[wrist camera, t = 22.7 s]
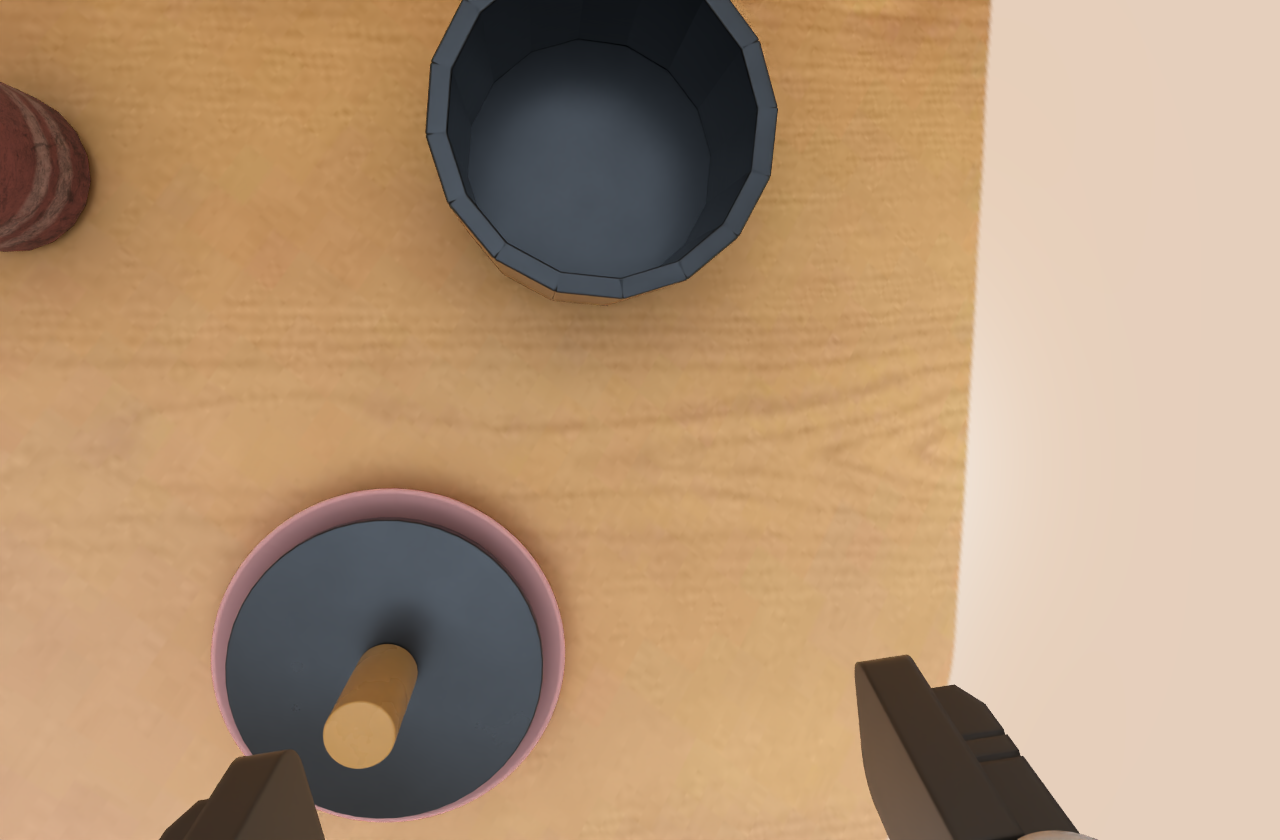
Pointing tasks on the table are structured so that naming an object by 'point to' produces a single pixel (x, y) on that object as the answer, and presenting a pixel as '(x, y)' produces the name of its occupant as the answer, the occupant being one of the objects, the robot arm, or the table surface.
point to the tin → (601, 138)
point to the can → (38, 172)
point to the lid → (386, 665)
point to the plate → (428, 510)
